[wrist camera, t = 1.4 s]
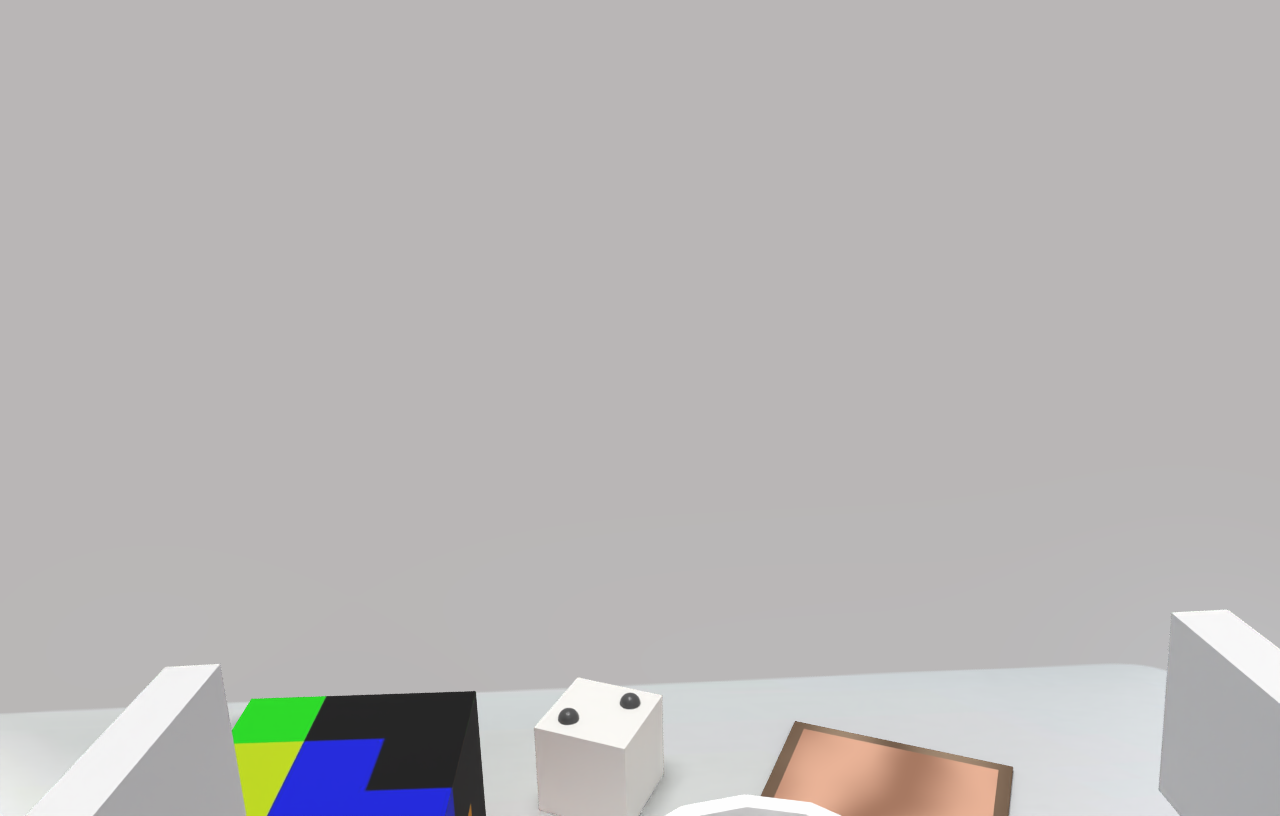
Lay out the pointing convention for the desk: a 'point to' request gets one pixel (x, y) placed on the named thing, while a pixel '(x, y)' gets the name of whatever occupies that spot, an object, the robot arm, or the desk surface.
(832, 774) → the color swatch strip
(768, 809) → the foam cup
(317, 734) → the puzzle toy
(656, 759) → the die
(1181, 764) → the robot arm
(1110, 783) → the desk surface
